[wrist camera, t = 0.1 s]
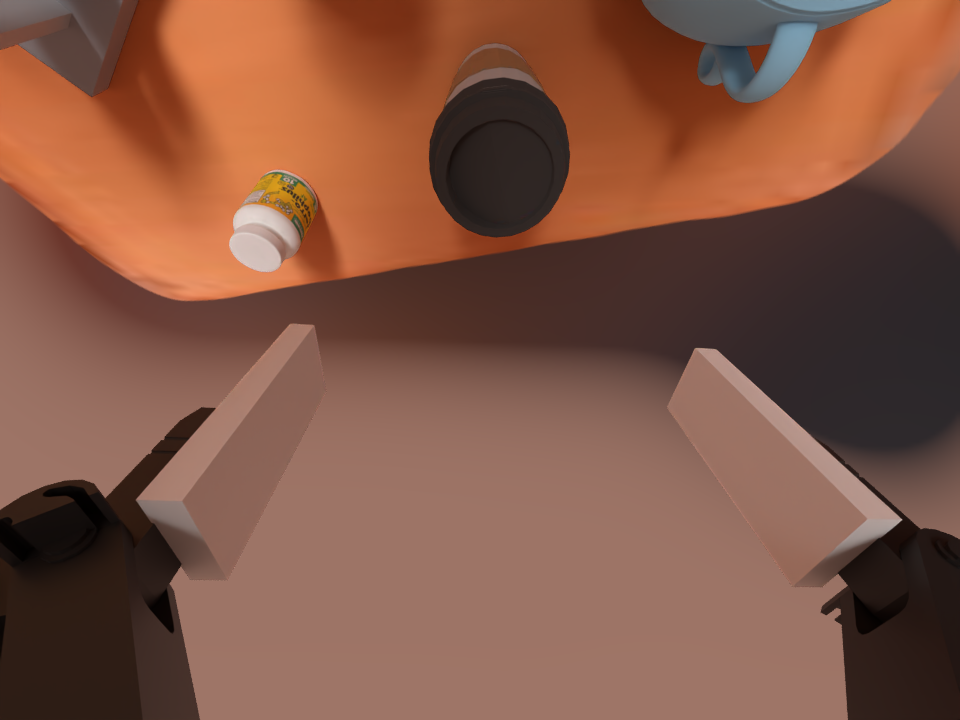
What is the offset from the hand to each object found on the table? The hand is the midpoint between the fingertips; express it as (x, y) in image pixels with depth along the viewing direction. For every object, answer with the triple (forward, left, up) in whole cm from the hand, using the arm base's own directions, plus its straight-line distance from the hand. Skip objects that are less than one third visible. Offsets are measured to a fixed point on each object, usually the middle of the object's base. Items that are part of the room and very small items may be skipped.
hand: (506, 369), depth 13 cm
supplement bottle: (+21, -6, -28) cm, 35 cm away
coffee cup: (0, 0, -28) cm, 28 cm away
